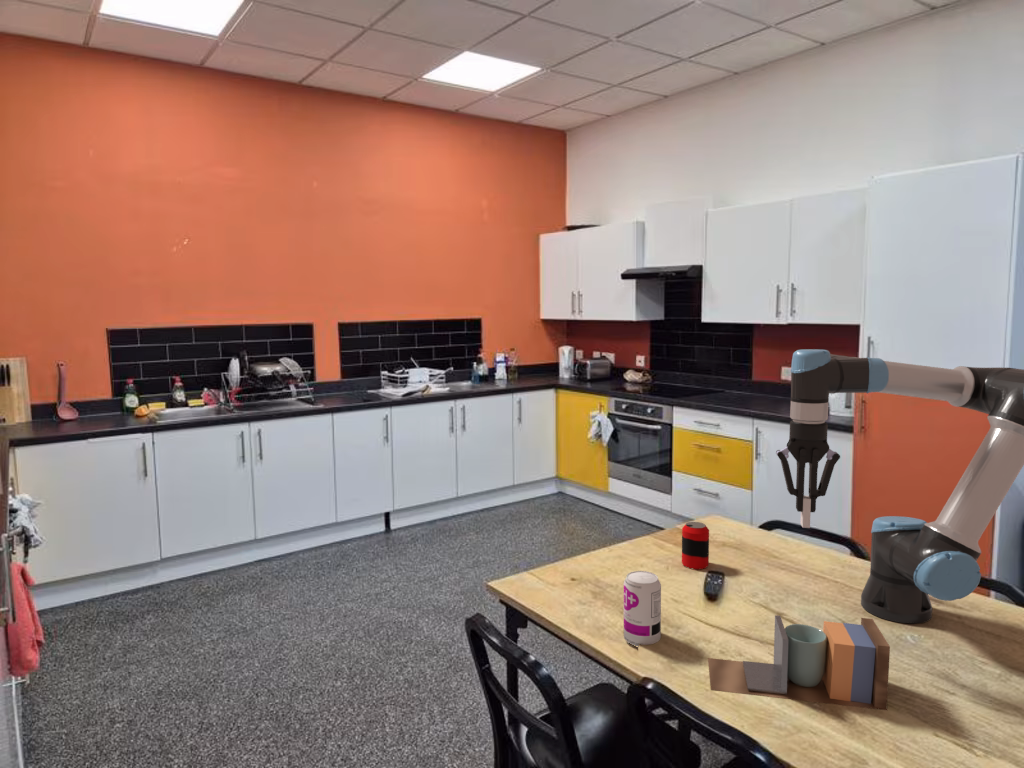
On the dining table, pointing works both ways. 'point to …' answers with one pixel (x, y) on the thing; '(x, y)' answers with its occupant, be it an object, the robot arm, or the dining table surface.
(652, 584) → the supplement can
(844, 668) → the book terracotta
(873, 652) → the book navy
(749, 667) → the bookend
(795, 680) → the cup
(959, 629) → the dining table surface
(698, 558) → the soda can
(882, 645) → the shelf
